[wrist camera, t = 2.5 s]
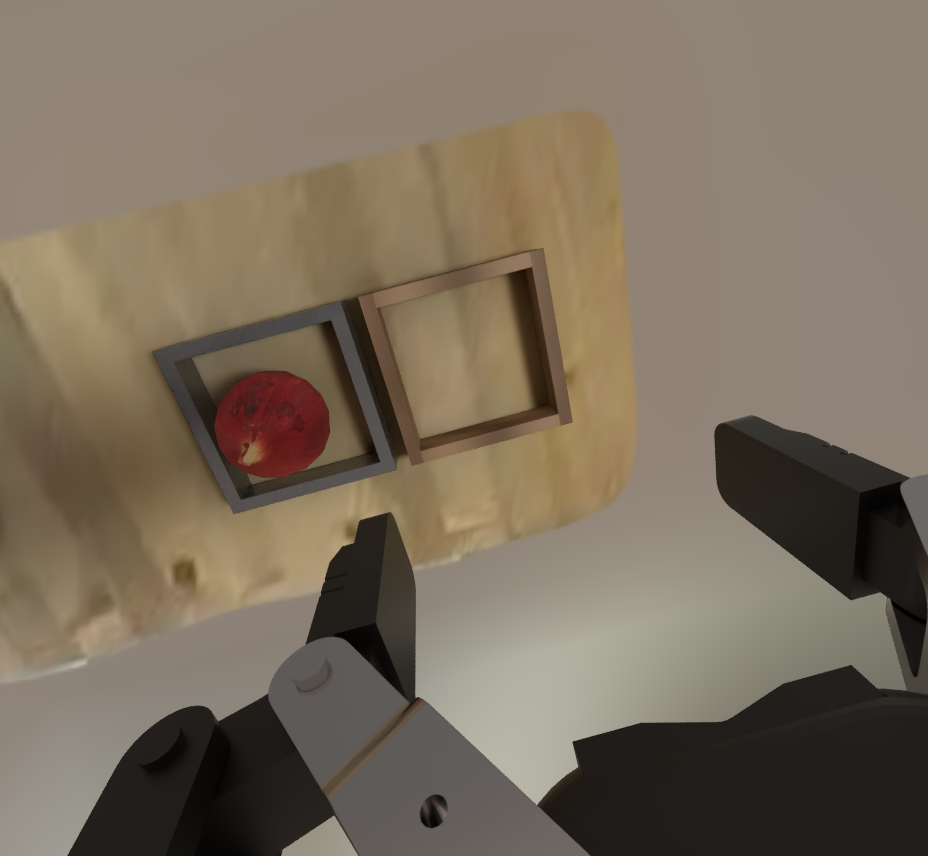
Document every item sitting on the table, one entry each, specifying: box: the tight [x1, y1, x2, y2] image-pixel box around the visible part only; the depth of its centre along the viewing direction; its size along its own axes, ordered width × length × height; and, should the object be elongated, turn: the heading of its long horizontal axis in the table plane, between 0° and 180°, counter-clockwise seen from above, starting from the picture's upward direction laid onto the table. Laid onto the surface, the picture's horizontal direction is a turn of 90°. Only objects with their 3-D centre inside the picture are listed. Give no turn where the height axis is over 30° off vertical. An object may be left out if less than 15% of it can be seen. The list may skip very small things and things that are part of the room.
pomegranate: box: [214, 371, 330, 478], centre depth 25 cm, size 6×6×8 cm
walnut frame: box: [358, 248, 573, 466], centre depth 27 cm, size 11×11×2 cm
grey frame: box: [153, 300, 398, 514], centre depth 27 cm, size 11×11×2 cm
